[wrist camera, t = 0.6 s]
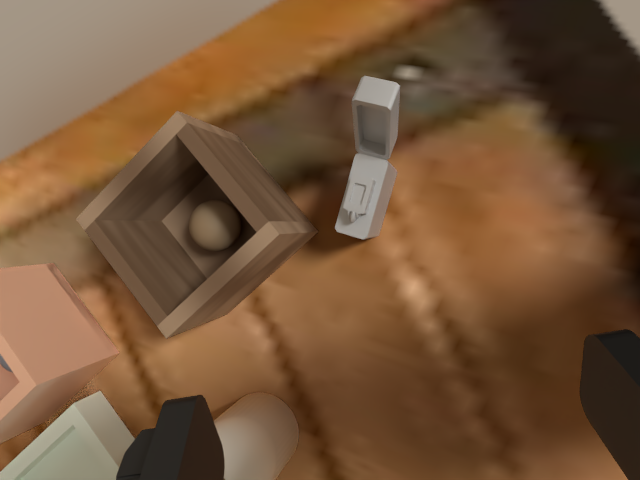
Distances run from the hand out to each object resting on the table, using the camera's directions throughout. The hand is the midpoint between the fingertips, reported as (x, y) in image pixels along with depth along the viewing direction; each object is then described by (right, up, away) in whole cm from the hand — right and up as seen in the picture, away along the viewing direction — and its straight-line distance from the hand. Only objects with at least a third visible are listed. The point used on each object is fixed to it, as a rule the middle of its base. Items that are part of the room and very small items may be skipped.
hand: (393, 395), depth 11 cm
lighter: (+2, +7, +19) cm, 20 cm away
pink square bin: (-21, -4, +25) cm, 32 cm away
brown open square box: (-7, +4, +21) cm, 22 cm away
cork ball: (-7, +4, +20) cm, 22 cm away
